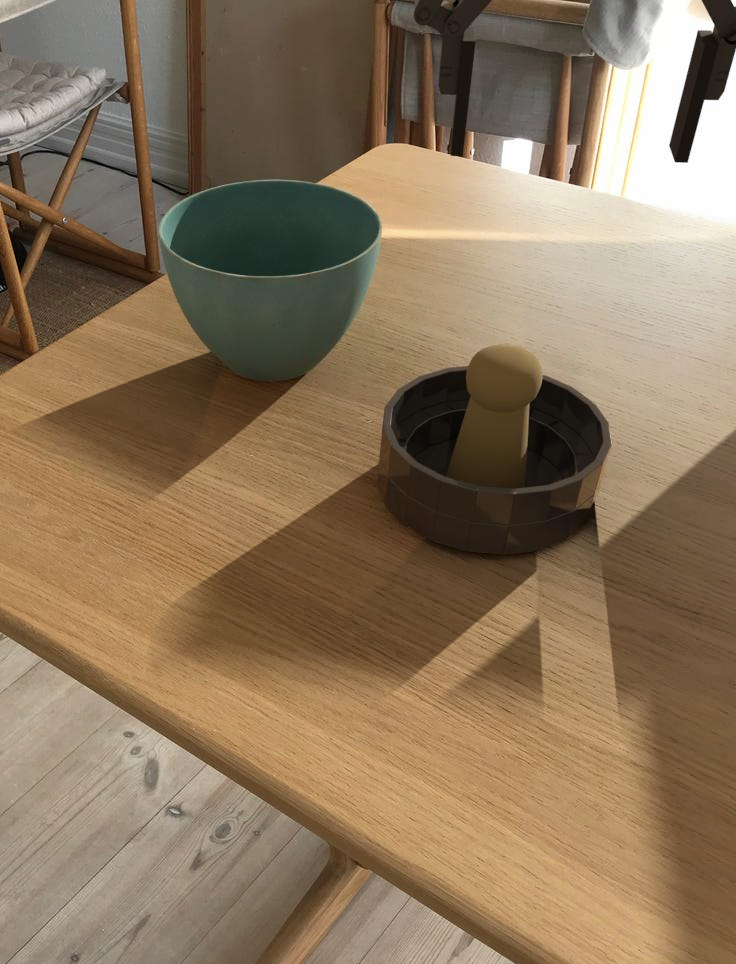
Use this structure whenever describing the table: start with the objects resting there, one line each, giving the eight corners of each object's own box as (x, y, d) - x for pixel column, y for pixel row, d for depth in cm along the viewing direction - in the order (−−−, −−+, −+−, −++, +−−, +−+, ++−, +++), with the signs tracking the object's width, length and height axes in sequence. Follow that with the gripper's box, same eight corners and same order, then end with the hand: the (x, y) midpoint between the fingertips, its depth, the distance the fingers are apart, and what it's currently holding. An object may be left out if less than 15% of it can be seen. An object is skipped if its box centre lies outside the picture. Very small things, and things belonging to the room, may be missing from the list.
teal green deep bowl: (293, 439, 84) (295, 298, 76) (127, 369, 92) (112, 234, 84) (410, 346, 94) (423, 212, 86) (251, 290, 102) (249, 162, 94)
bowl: (585, 438, 84) (602, 373, 80) (600, 570, 73) (620, 502, 69) (385, 423, 86) (390, 358, 82) (369, 549, 75) (375, 482, 71)
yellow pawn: (507, 518, 76) (533, 387, 68) (431, 492, 78) (449, 363, 71) (537, 475, 80) (565, 346, 72) (464, 452, 82) (484, 324, 74)
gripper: (385, -291, 49) (363, 168, 64) (949, -304, 46) (786, 181, 61) (393, -305, 54) (371, 123, 69) (901, -317, 51) (762, 133, 66)
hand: (566, 151), depth 65 cm, fingers open, 13 cm apart
